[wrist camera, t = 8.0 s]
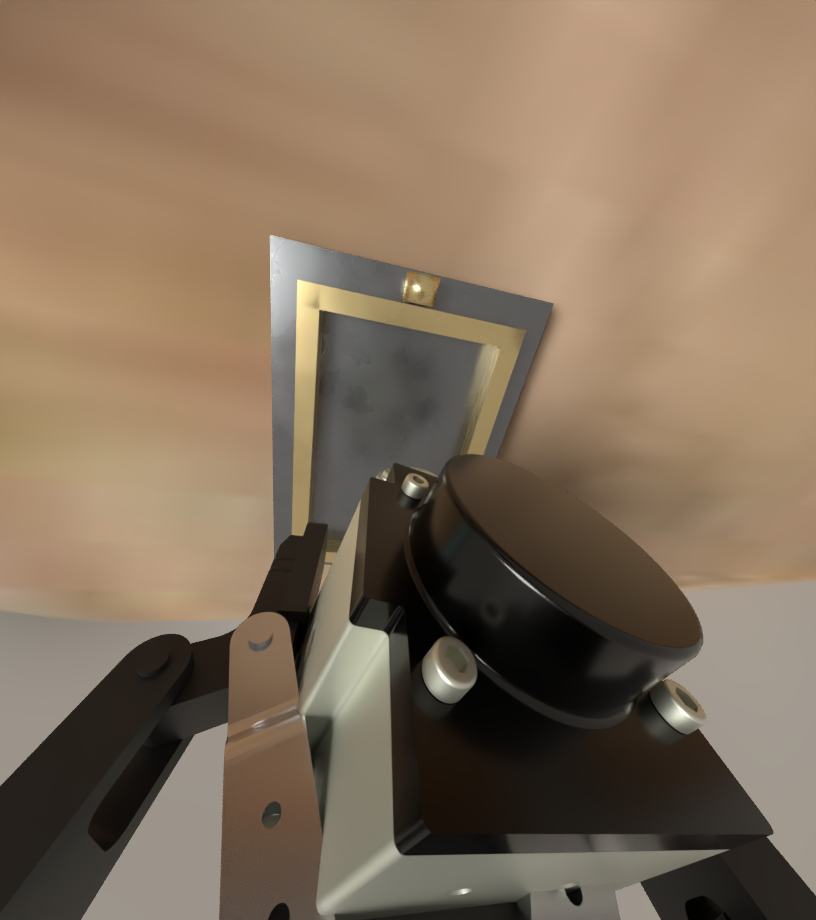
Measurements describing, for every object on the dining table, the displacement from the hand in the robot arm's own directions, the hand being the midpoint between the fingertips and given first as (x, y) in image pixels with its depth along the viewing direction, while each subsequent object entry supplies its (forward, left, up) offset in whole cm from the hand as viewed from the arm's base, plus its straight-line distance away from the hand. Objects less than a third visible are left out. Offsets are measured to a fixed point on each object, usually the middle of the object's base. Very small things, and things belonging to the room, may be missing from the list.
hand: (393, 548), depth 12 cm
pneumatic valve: (0, 0, -3) cm, 3 cm away
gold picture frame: (0, 0, -10) cm, 10 cm away
